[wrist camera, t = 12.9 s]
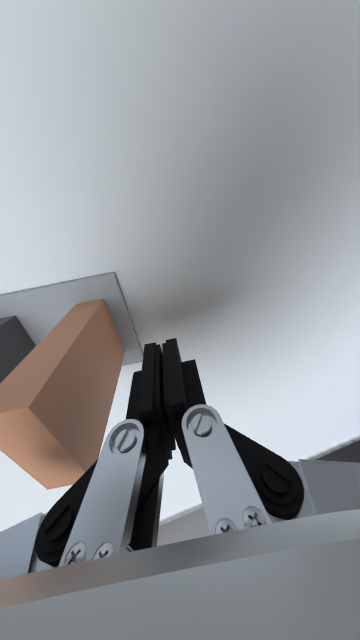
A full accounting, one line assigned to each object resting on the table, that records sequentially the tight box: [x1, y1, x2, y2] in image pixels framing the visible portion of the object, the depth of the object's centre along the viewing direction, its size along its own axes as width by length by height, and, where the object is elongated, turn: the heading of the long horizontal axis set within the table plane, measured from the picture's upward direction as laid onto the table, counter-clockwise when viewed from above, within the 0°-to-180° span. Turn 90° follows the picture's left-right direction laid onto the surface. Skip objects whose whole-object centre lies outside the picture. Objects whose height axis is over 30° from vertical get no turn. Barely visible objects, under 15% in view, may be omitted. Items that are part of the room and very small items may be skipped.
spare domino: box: [0, 299, 125, 489], centre depth 11 cm, size 2×5×9 cm, turn 11°
